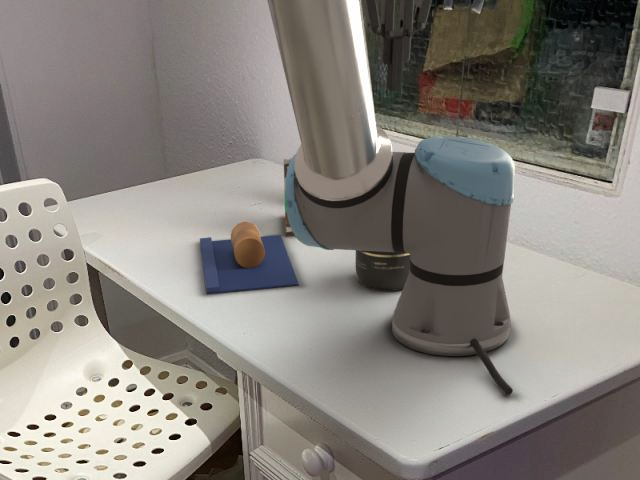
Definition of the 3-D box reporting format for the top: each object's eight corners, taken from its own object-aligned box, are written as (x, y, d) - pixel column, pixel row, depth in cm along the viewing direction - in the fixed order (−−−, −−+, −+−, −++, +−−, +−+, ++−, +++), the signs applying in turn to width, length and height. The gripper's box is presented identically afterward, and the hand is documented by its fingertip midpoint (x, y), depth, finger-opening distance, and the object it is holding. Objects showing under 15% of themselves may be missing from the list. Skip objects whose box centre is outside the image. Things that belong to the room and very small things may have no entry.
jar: (424, 268, 126) (428, 218, 121) (417, 294, 119) (420, 242, 114) (360, 265, 129) (361, 216, 124) (349, 290, 121) (349, 239, 116)
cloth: (298, 285, 124) (298, 279, 123) (207, 294, 123) (206, 288, 123) (280, 236, 141) (280, 230, 141) (200, 243, 141) (199, 238, 140)
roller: (265, 237, 127) (234, 238, 126) (264, 268, 130) (234, 268, 129) (259, 221, 133) (230, 221, 133) (259, 250, 136) (230, 250, 136)
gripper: (445, -124, 105) (431, 80, 119) (345, -117, 104) (343, 88, 118) (463, -125, 99) (446, 90, 113) (357, -117, 98) (353, 98, 113)
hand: (393, 89), depth 116 cm, fingers closed
